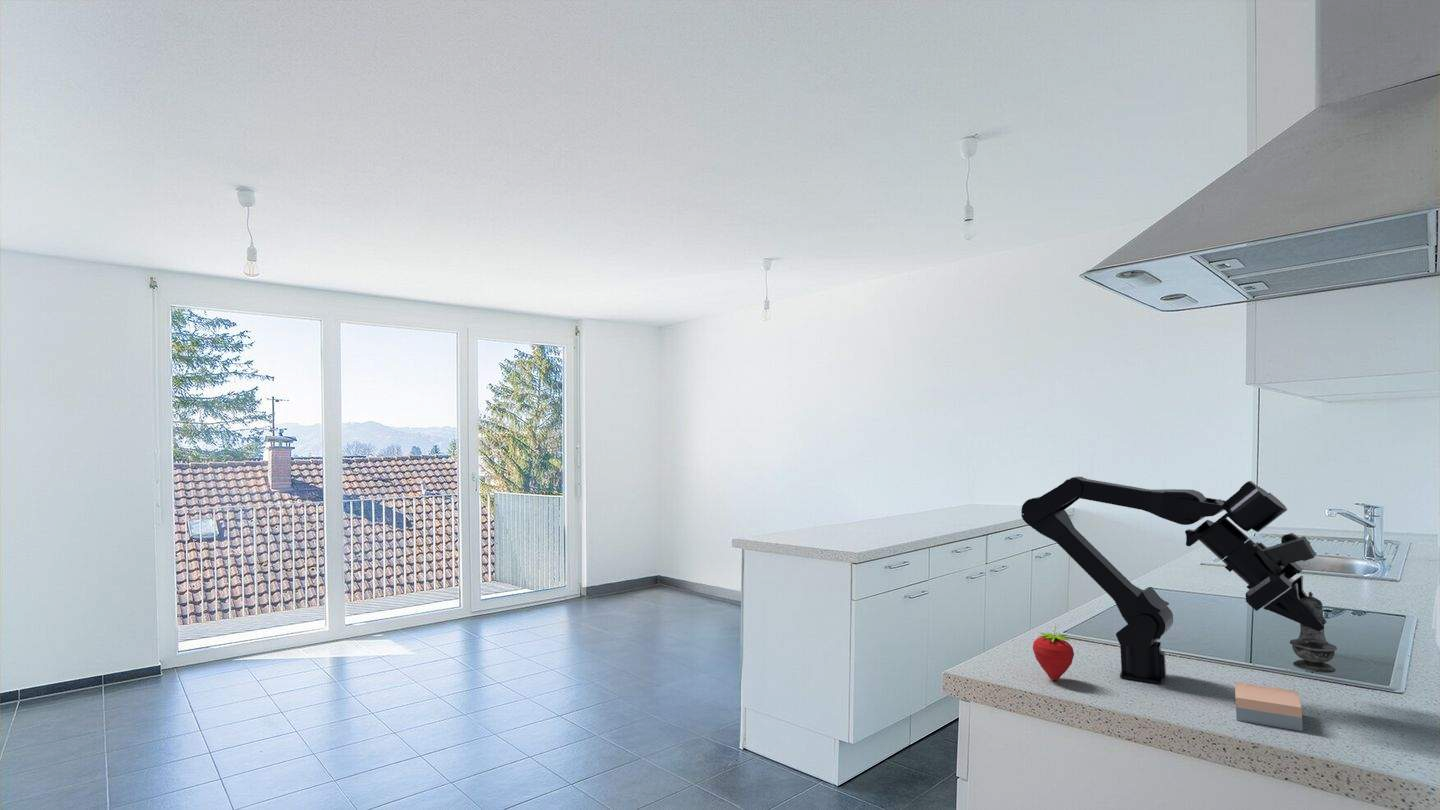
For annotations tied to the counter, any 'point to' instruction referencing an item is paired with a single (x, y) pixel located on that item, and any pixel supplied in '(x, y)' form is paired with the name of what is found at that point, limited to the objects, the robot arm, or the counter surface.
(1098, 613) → the counter surface
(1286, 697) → the peach and grey block
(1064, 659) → the strawberry
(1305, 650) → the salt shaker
